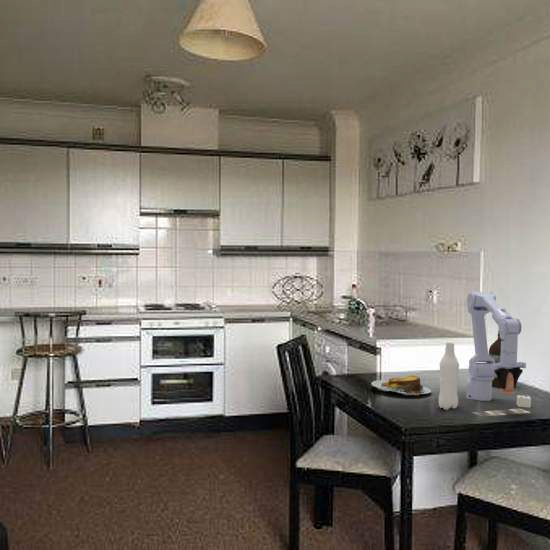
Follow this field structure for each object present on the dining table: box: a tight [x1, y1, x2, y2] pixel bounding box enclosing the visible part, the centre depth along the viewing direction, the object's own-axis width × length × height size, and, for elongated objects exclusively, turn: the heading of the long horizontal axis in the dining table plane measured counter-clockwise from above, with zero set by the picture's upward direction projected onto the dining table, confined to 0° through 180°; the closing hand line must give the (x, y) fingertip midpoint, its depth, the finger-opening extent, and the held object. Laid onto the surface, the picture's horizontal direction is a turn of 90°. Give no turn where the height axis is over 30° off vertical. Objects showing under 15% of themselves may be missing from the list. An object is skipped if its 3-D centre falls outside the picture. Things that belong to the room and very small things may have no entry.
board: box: [472, 407, 532, 418], centre depth 224 cm, size 22×7×1 cm, turn 110°
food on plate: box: [371, 375, 432, 396], centre depth 259 cm, size 25×25×7 cm
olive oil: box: [488, 330, 509, 389], centre depth 274 cm, size 11×11×25 cm
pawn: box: [500, 372, 515, 396], centre depth 224 cm, size 5×5×8 cm
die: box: [516, 395, 532, 408], centre depth 235 cm, size 4×4×5 cm
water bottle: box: [438, 342, 460, 411], centre depth 231 cm, size 7×7×25 cm
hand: (507, 388), depth 225 cm, fingers closed on pawn, 4 cm apart
